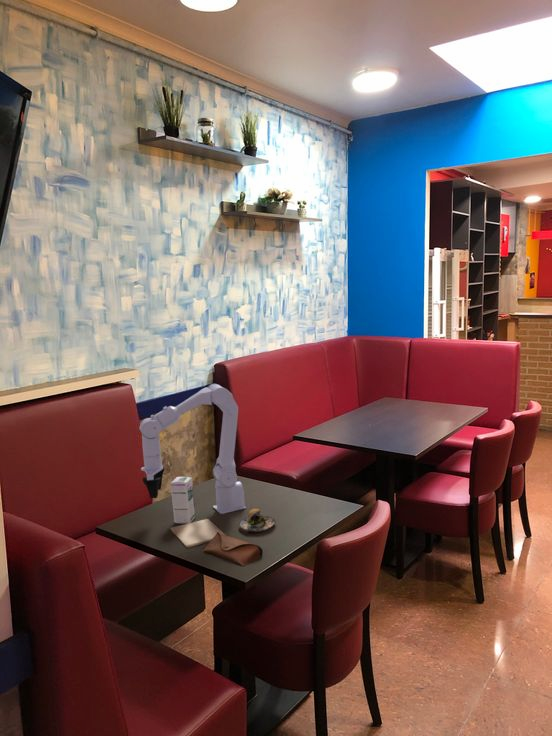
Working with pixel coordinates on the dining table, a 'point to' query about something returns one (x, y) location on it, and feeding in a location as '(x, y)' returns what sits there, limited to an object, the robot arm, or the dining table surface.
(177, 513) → the syrup box
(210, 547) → the sunglasses case
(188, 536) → the beige folded napkin
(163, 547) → the dining table surface
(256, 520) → the burger
